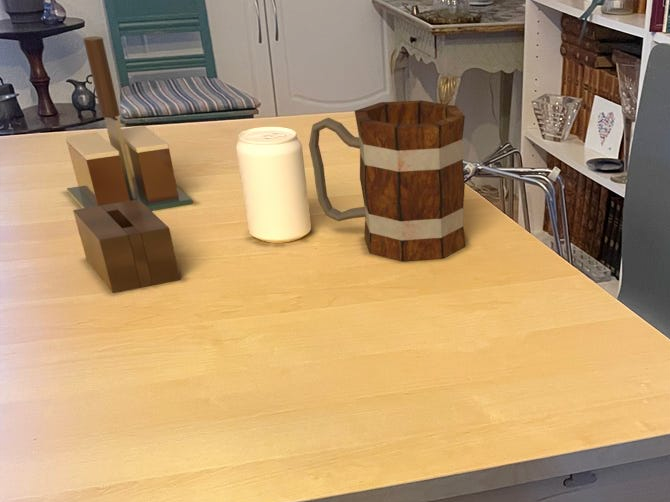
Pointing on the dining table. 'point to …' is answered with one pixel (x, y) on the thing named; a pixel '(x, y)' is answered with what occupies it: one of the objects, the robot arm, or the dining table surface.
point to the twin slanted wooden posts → (107, 174)
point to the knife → (108, 102)
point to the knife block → (127, 245)
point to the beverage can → (273, 184)
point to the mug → (404, 178)
